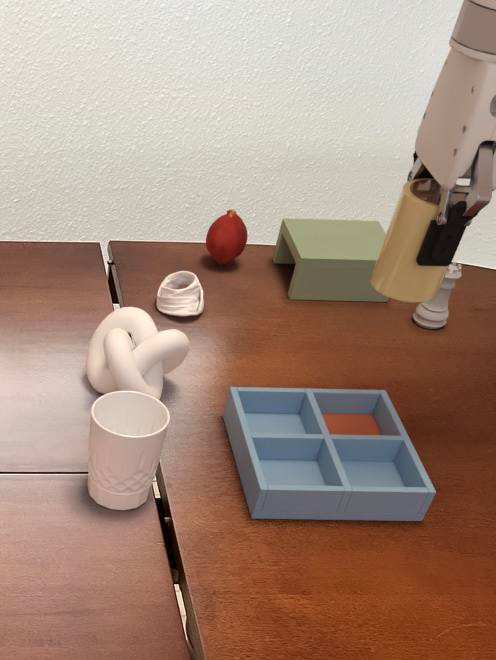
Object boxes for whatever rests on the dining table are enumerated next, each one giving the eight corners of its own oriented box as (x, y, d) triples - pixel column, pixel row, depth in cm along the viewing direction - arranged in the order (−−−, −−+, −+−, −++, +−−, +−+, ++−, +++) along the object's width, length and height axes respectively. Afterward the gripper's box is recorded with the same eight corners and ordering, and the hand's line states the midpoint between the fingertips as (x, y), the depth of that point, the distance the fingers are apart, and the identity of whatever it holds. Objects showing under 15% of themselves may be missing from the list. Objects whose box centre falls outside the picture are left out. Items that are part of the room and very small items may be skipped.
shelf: (364, 261, 133) (378, 220, 128) (387, 302, 125) (403, 260, 120) (272, 258, 132) (282, 218, 128) (289, 299, 124) (301, 258, 120)
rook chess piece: (433, 333, 120) (458, 277, 114) (405, 320, 122) (427, 263, 116) (451, 323, 122) (476, 266, 116) (422, 309, 124) (445, 253, 118)
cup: (425, 270, 91) (462, 178, 84) (447, 303, 87) (487, 208, 80) (362, 268, 91) (394, 175, 84) (380, 301, 87) (415, 206, 80)
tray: (374, 418, 107) (385, 389, 103) (422, 521, 95) (436, 492, 92) (222, 415, 106) (229, 386, 103) (251, 518, 94) (260, 489, 91)
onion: (212, 250, 133) (224, 195, 127) (247, 262, 131) (260, 207, 125) (194, 265, 130) (205, 209, 124) (229, 277, 128) (242, 221, 122)
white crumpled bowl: (204, 330, 120) (215, 297, 116) (155, 323, 120) (164, 290, 116) (199, 296, 125) (209, 264, 121) (152, 289, 124) (161, 257, 120)
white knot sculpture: (173, 430, 104) (187, 362, 97) (72, 413, 105) (79, 345, 98) (183, 377, 111) (196, 310, 104) (88, 362, 112) (96, 295, 105)
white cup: (115, 458, 100) (126, 381, 92) (169, 492, 96) (186, 414, 89) (67, 489, 96) (74, 411, 88) (121, 525, 92) (134, 447, 85)
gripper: (595, 67, 67) (490, 292, 80) (508, 0, 78) (429, 207, 92) (497, 63, 66) (408, 290, 80) (424, -3, 78) (357, 205, 91)
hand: (420, 244), depth 86 cm, fingers closed on cup, 6 cm apart
